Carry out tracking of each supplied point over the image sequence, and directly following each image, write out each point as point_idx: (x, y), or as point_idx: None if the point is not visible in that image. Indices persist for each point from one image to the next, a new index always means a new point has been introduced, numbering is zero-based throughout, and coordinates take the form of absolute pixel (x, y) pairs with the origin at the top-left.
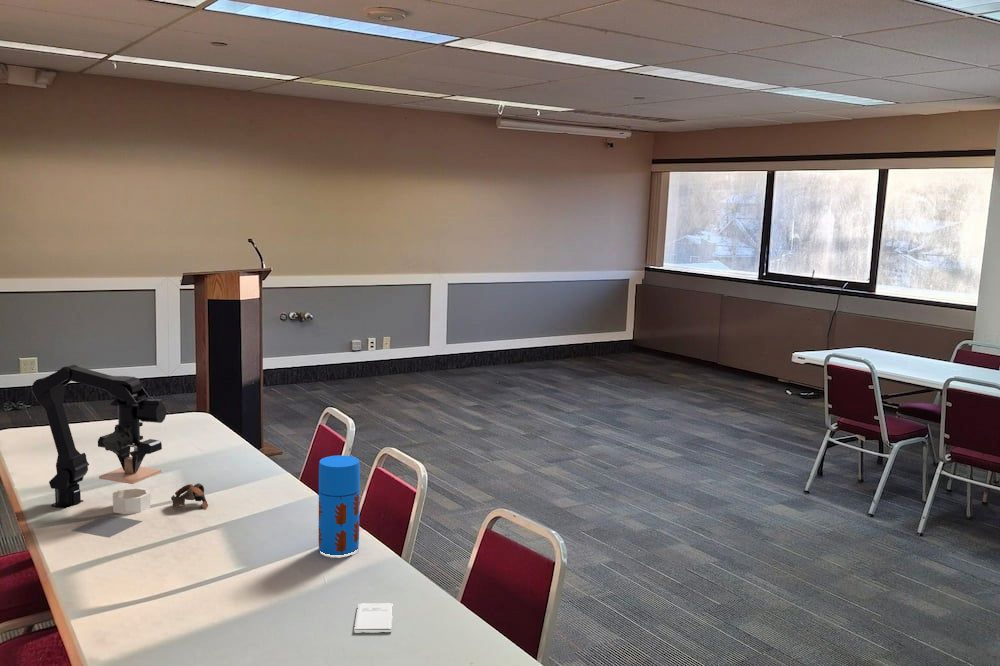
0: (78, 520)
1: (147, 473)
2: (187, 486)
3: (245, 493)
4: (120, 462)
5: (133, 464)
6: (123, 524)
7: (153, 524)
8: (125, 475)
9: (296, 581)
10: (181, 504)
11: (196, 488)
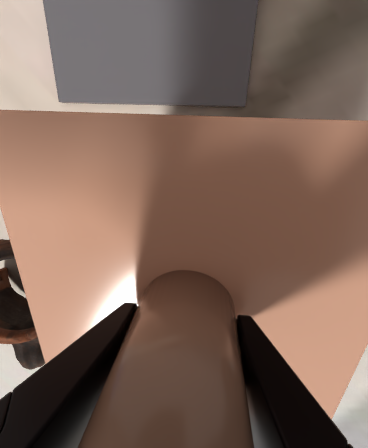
0: (344, 5)
1: (63, 328)
2: (16, 332)
3: (24, 378)
4: (314, 406)
5: (72, 372)
6: (95, 29)
7: (24, 108)
8: (178, 243)
9: None
10: (4, 240)
11: None
